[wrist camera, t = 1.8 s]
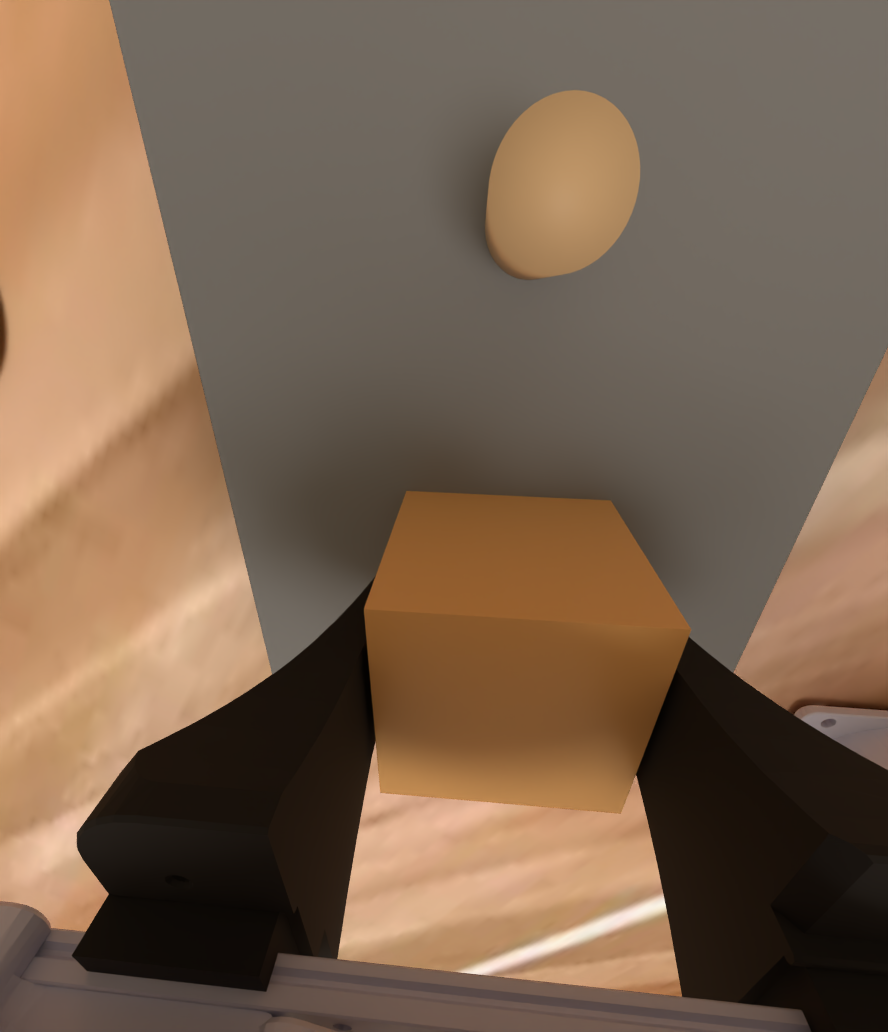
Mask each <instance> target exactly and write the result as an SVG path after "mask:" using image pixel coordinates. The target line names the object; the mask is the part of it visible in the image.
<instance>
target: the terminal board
mask: <svg viewBox="0 0 888 1032" xmlns="http://www.w3.org/2000/svg"><path fill="white" fill-rule="evenodd" d="M109 1H110V5H111V10H112V14H113V18H114V22H115V26H116V30H117V34H118V38H119V43H120V47H121V51H122V55H123V59H124V63H125V67H126V72H127V76H128V80H129V84H130V88H131V92H132V96H133V100H134V105H135V109H136V113H137V117H138V121H139V125H140V129H141V133H142V138H143V142H144V146H145V150H146V154H147V158H148V162H149V167H150V171H151V175H152V179H153V183H154V187H155V191H156V195H157V200H158V204H159V208H160V212H161V216H162V220H163V224H164V229H165V233H166V237H167V241H168V245H169V249H170V253H171V257H172V262H173V266H174V270H175V274H176V278H177V282H178V286H179V290H180V295H181V299H182V303H183V307H184V311H185V315H186V319H187V324H188V328H189V332H190V336H191V340H192V344H193V348H194V352H195V357H196V361H197V365H198V369H199V373H200V377H201V381H202V386H203V390H204V394H205V398H206V402H207V406H208V410H209V414H210V419H211V423H212V427H213V431H214V435H215V439H216V443H217V447H218V452H219V456H220V460H221V464H222V468H223V472H224V476H225V481H226V485H227V489H228V493H229V497H230V501H231V505H232V509H233V514H234V518H235V522H236V526H237V530H238V534H239V538H240V543H241V547H242V551H243V555H244V559H245V563H246V567H247V571H248V576H249V580H250V584H251V588H252V592H253V596H254V600H255V604H256V609H257V613H258V617H259V621H260V625H261V629H262V633H263V638H264V642H265V646H266V650H267V654H268V658H269V662H270V666H271V671H272V674H274V673H275V672H276V671H278V670H279V669H281V668H282V667H283V666H285V665H286V664H287V663H288V662H290V661H291V660H292V659H293V658H295V657H296V656H297V655H298V654H300V653H301V652H302V651H303V650H304V649H305V648H307V647H308V646H309V645H310V644H311V643H312V642H313V641H315V640H316V639H317V638H318V637H319V636H320V635H321V634H322V633H323V632H324V631H325V630H326V629H327V628H328V627H329V626H330V625H331V624H333V623H334V622H335V621H336V620H337V619H338V617H339V616H340V615H341V614H342V613H343V612H344V611H345V610H346V609H347V608H348V607H349V606H350V605H351V604H352V603H353V602H354V600H355V599H356V598H357V597H358V596H359V595H360V594H361V593H362V591H363V590H364V589H365V588H366V587H367V586H368V584H369V583H370V582H371V581H372V580H373V578H374V577H375V576H376V574H377V571H378V568H379V566H380V563H381V560H382V557H383V554H384V552H385V549H386V546H387V543H388V541H389V538H390V535H391V532H392V529H393V527H394V524H395V521H396V518H397V516H398V513H399V510H400V507H401V504H402V502H403V499H404V496H405V493H406V491H420V492H441V493H463V494H484V495H505V496H527V497H548V498H569V499H591V500H611V502H612V503H613V505H614V506H615V508H616V510H617V511H618V513H619V514H620V516H621V518H622V519H623V521H624V522H625V524H626V526H627V527H628V529H629V530H630V532H631V534H632V535H633V537H634V538H635V540H636V542H637V543H638V545H639V546H640V548H641V550H642V551H643V553H644V554H645V556H646V558H647V559H648V561H649V563H650V564H651V566H652V567H653V569H654V571H655V572H656V574H657V575H658V577H659V579H660V580H661V582H662V583H663V585H664V587H665V588H666V590H667V591H668V593H669V595H670V596H671V598H672V599H673V601H674V603H675V604H676V606H677V607H678V609H679V611H680V612H681V614H682V615H683V617H684V619H685V620H686V622H687V623H688V625H689V627H690V628H691V632H690V635H689V637H690V638H691V639H692V640H693V641H694V642H696V643H697V644H698V645H699V646H700V647H702V648H703V649H704V650H705V651H706V652H708V653H709V654H710V655H711V656H713V657H714V658H715V659H716V660H718V661H719V662H720V663H721V664H723V665H724V666H725V667H726V668H728V669H729V670H730V671H731V672H734V670H735V668H736V666H737V664H738V662H739V660H740V657H741V655H742V653H743V651H744V649H745V647H746V645H747V643H748V641H749V638H750V636H751V634H752V632H753V630H754V628H755V626H756V624H757V622H758V619H759V617H760V615H761V613H762V611H763V609H764V607H765V605H766V603H767V601H768V598H769V596H770V594H771V592H772V590H773V588H774V586H775V584H776V582H777V579H778V577H779V575H780V573H781V571H782V569H783V567H784V565H785V563H786V560H787V558H788V556H789V554H790V552H791V550H792V548H793V546H794V544H795V542H796V539H797V537H798V535H799V533H800V531H801V529H802V527H803V525H804V523H805V520H806V518H807V516H808V514H809V512H810V510H811V508H812V506H813V504H814V501H815V499H816V497H817V495H818V493H819V491H820V489H821V487H822V485H823V483H824V480H825V478H826V476H827V474H828V472H829V470H830V468H831V466H832V464H833V461H834V459H835V457H836V455H837V453H838V451H839V449H840V447H841V445H842V442H843V440H844V438H845V436H846V434H847V432H848V430H849V428H850V426H851V424H852V421H853V419H854V417H855V415H856V413H857V411H858V409H859V407H860V405H861V402H862V400H863V398H864V396H865V394H866V392H867V390H868V388H869V386H870V383H871V381H872V379H873V377H874V375H875V373H876V371H877V369H878V367H879V365H880V362H881V360H882V358H883V356H884V354H885V352H886V350H887V348H888V0H109Z"/></svg>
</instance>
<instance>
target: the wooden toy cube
mask: <svg viewBox="0 0 888 1032" xmlns="http://www.w3.org/2000/svg"><path fill="white" fill-rule="evenodd" d="M364 617H365V628H366V639H367V650H368V661H369V672H370V683H371V694H372V705H373V716H374V727H375V738H376V749H377V761H378V772H379V783H380V793H389V794H400V795H412V796H423V797H435V798H446V799H458V800H469V801H481V802H493V803H504V804H516V805H527V806H539V807H550V808H562V809H573V810H585V811H596V812H608V813H619V814H621V812H622V809H623V806H624V804H625V801H626V799H627V796H628V793H629V791H630V788H631V786H632V783H633V780H634V778H635V775H636V773H637V770H638V767H639V765H640V762H641V760H642V757H643V754H644V752H645V749H646V747H647V744H648V741H649V739H650V736H651V734H652V731H653V728H654V726H655V723H656V721H657V718H658V715H659V713H660V710H661V707H662V705H663V702H664V700H665V697H666V694H667V692H668V689H669V687H670V684H671V681H672V679H673V676H674V674H675V671H676V668H677V666H678V663H679V661H680V658H681V655H682V653H683V650H684V648H685V645H686V642H687V640H688V637H689V635H690V632H691V628H690V627H689V625H688V623H687V622H686V620H685V619H684V617H683V615H682V614H681V612H680V611H679V609H678V607H677V606H676V604H675V603H674V601H673V599H672V598H671V596H670V595H669V593H668V591H667V590H666V588H665V587H664V585H663V583H662V582H661V580H660V579H659V577H658V575H657V574H656V572H655V571H654V569H653V567H652V566H651V564H650V563H649V561H648V559H647V558H646V556H645V554H644V553H643V551H642V550H641V548H640V546H639V545H638V543H637V542H636V540H635V538H634V537H633V535H632V534H631V532H630V530H629V529H628V527H627V526H626V524H625V522H624V521H623V519H622V518H621V516H620V514H619V513H618V511H617V510H616V508H615V506H614V505H613V503H612V502H611V500H591V499H569V498H548V497H527V496H505V495H484V494H463V493H441V492H420V491H406V493H405V496H404V499H403V502H402V504H401V507H400V510H399V513H398V516H397V518H396V521H395V524H394V527H393V529H392V532H391V535H390V538H389V541H388V543H387V546H386V549H385V552H384V554H383V557H382V560H381V563H380V566H379V568H378V571H377V574H376V577H375V579H374V582H373V585H372V588H371V590H370V593H369V596H368V599H367V602H366V604H365V607H364Z"/></svg>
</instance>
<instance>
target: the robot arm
mask: <svg viewBox="0 0 888 1032" xmlns="http://www.w3.org/2000/svg"><path fill="white" fill-rule="evenodd" d="M375 577H376V576H375ZM375 577H374V578H373V580H372V581H371V582H370V583H369V584H368V586H367V587H366V588H365V589H364V590H363V591H362V593H361V594H360V595H359V596H358V597H357V598H356V599H355V600H354V602H353V603H352V604H351V605H350V606H349V607H348V608H347V609H346V610H345V611H344V612H343V613H342V614H341V615H340V616H339V617H338V619H337V620H336V621H335V622H334V623H333V624H331V625H330V626H329V627H328V628H327V629H326V630H325V631H324V632H323V633H322V634H321V635H320V636H319V637H318V638H317V639H316V640H315V641H313V642H312V643H311V644H310V645H309V646H308V647H307V648H305V649H304V650H303V651H302V652H301V653H300V654H298V655H297V656H296V657H295V658H293V659H292V660H291V661H290V662H288V663H287V664H286V665H285V666H283V667H282V668H281V669H279V670H278V671H276V672H275V673H274V674H272V675H271V676H269V677H268V678H267V679H265V680H264V681H262V682H261V683H259V684H258V685H256V686H255V687H253V688H252V689H251V690H249V691H248V692H246V693H244V694H243V695H241V696H240V697H238V698H236V699H235V700H233V701H232V702H230V703H228V704H227V705H225V706H223V707H222V708H220V709H218V710H216V711H215V712H213V713H211V714H209V715H208V716H206V717H204V718H202V719H200V720H199V721H197V722H195V723H193V724H191V725H189V726H187V727H185V728H183V729H181V730H179V731H177V732H175V733H173V734H171V735H169V736H167V737H166V738H164V739H162V740H160V741H158V742H156V743H154V744H152V745H150V746H147V747H145V748H143V749H141V750H139V751H138V752H137V753H136V755H135V756H134V757H133V758H132V759H131V761H130V762H129V763H128V764H127V765H126V767H125V768H124V769H123V770H122V772H121V773H120V774H119V776H118V777H117V778H116V780H115V781H114V783H113V784H112V785H111V787H110V788H109V789H108V791H107V792H106V794H105V795H104V796H103V798H102V799H101V800H100V802H99V803H98V805H97V806H96V807H95V809H94V810H93V812H92V813H91V814H90V816H89V817H88V818H87V820H86V821H85V823H84V824H83V825H82V827H81V828H80V829H79V831H78V832H77V848H78V851H79V853H80V855H81V857H82V858H83V860H84V861H85V863H86V864H87V865H88V867H89V868H90V869H91V871H92V872H93V873H94V875H95V876H96V877H97V879H98V880H99V881H100V883H101V884H102V885H103V887H104V888H105V889H106V891H107V892H108V893H109V895H108V897H107V898H106V900H105V902H104V903H103V905H102V907H101V908H100V910H99V911H98V913H97V915H96V916H95V918H94V920H93V921H92V923H91V924H90V926H89V928H88V929H87V931H86V932H83V931H74V930H64V929H55V928H51V926H50V923H49V921H48V920H47V918H46V917H45V916H44V915H43V914H42V913H41V912H39V911H38V910H36V909H34V908H32V907H29V906H27V905H23V904H18V903H12V902H3V901H0V1032H888V711H887V710H873V709H859V708H845V707H831V706H817V705H807V706H804V707H801V708H800V709H798V710H797V711H796V712H795V714H794V715H793V714H791V713H790V712H788V711H787V710H785V709H784V708H782V707H781V706H779V705H778V704H776V703H775V702H773V701H772V700H770V699H769V698H767V697H766V696H765V695H763V694H762V693H760V692H759V691H757V690H756V689H755V688H753V687H752V686H750V685H749V684H747V683H746V682H745V681H743V680H742V679H741V678H739V677H738V676H737V675H735V674H734V673H733V672H731V671H730V670H729V669H728V668H726V667H725V666H724V665H723V664H721V663H720V662H719V661H718V660H716V659H715V658H714V657H713V656H711V655H710V654H709V653H708V652H706V651H705V650H704V649H703V648H702V647H700V646H699V645H698V644H697V643H696V642H694V641H693V640H692V639H691V638H690V637H688V640H687V642H686V645H685V648H684V650H683V653H682V655H681V658H680V661H679V663H678V666H677V668H676V671H675V674H674V676H673V679H672V681H671V684H670V687H669V689H668V692H667V694H666V697H665V700H664V702H663V705H662V707H661V710H660V713H659V715H658V718H657V721H656V723H655V726H654V728H653V731H652V734H651V736H650V739H649V741H648V744H647V747H646V749H645V752H644V754H643V757H642V760H641V762H640V765H639V767H638V770H637V773H636V775H637V779H638V783H639V787H640V791H641V795H642V799H643V803H644V807H645V811H646V815H647V820H648V824H649V828H650V833H651V837H652V842H653V846H654V851H655V855H656V860H657V864H658V869H659V874H660V879H661V884H662V889H663V894H664V899H665V904H666V909H667V914H668V919H669V924H670V929H671V935H672V941H673V946H674V952H675V957H676V963H677V969H678V974H679V980H680V986H681V992H682V997H678V996H669V995H660V994H650V993H641V992H632V991H623V990H614V989H605V988H596V987H586V986H577V985H568V984H559V983H550V982H541V981H531V980H522V979H513V978H504V977H495V976H486V975H476V974H467V973H458V972H449V971H440V970H431V969H422V968H412V967H403V966H394V965H385V964H376V963H367V962H357V961H348V960H339V959H337V957H338V950H339V944H340V937H341V931H342V925H343V918H344V912H345V906H346V899H347V893H348V887H349V881H350V875H351V869H352V863H353V857H354V851H355V845H356V839H357V834H358V828H359V823H360V817H361V812H362V806H363V800H364V795H365V790H366V784H367V779H368V774H369V769H370V763H371V758H372V754H373V750H374V745H375V741H376V738H375V727H374V716H373V705H372V694H371V683H370V672H369V661H368V650H367V639H366V628H365V617H364V607H365V604H366V602H367V599H368V596H369V593H370V590H371V588H372V585H373V582H374V579H375Z"/></svg>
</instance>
